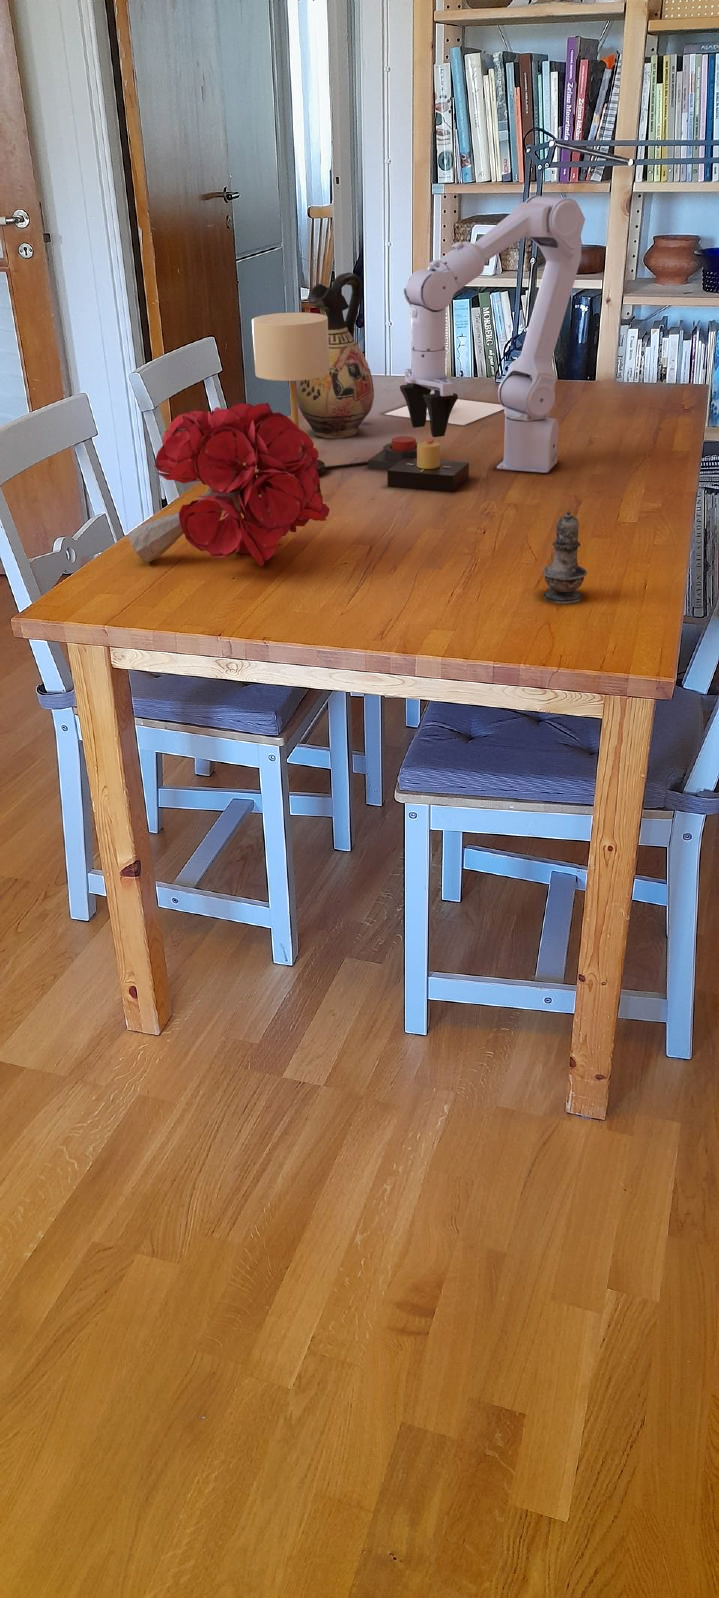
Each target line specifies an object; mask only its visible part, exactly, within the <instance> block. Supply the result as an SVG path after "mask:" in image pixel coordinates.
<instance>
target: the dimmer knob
mask: <svg viewBox="0 0 719 1598" xmlns="http://www.w3.org/2000/svg"><path fill="white" fill-rule="evenodd" d="M417 443H418V444H417V467H419V468H422V469H434V468H438V467H439V466H440V460H441V443H440V442H438V441H435V440H434V439H429V440H424V441H420V442H417Z"/></svg>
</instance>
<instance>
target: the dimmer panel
mask: <svg viewBox="0 0 719 1598" xmlns="http://www.w3.org/2000/svg"><path fill="white" fill-rule="evenodd" d="M386 471H387V488H395V489H403V490H404V489H405V490H416V491H428V492H440V493H450V494H451V493H452V494H453V493H455V492H456V491H457V490H458V489H460V488H461V486H463V485H464V484H465V483H466V482H467V481H468V480H469V477H470V476H469V475H470V474H469V473H470V462H469V461H458V460H457V461H456V460H446V459H445V460H443V459H440V466H439V467H438V468H434V469H422V468H419V467H417V458H407V457H405V458H403V459H402V460H401V461H399V462H398V463H397V464H395V465H394V466H393V467H391V468H390V469H389V470H386Z"/></svg>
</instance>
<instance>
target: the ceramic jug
mask: <svg viewBox="0 0 719 1598" xmlns="http://www.w3.org/2000/svg"><path fill="white" fill-rule="evenodd" d="M346 285H347V286H350V287H351V293H350V294H351V295H350V300H349V303H348V302H347V300H346V297H345V296H344V295H343V294H342V293H343V290H342V289H343V287H345V286H346ZM362 294H363V284H362V280H361V279H360V277H359V276H358V275H356V274H355V273H353V272H344V273H340V274H339V275H337V276H336V277H335V278H334V280H333V282H332V286H331V287H330V286H328V287H327V286H325V285H323V284H322V283H317V284H315V285H314V286H313V287H312V288H311V290H310V291H309V293H308V295H307V302H308V303H307V304H308V305H310V306H311V307H315V308H317V309H320V310H321V311H323V312H325V313H326V316H327V317H328V339H329V367H330V372H329V374H327V375H325V376H323V377H319V378H315V379H308V380H298V381H297V403H298V410H299V411H300V413H301V414H302V417H303V418H304V419H305V420H306V422H307V423H308V425H309V426H310V428H311V430H312V435H313V436H314V437H315V438H324V439H343V438H349V437H352V436H355V435H356V434H357V433H358V431H359V427H360V425H361V424H362V422H364V420H365V418H367V416H368V415H370V412H371V410H372V408H373V405H374V399H375V389H374V380H373V376H372V372H371V368H370V367H369V363H368V361H367V359H366V356H365V355H364V353H363V352H362V349H361V348H360V346H359V345H358V343H357V342H356V340H355V324H356V322H357V318H358V312H359V308H360V305H361V301H362V296H363V295H362ZM345 310H347V313H346V316H345V317H344V312H343V311H345Z"/></svg>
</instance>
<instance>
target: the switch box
mask: <svg viewBox="0 0 719 1598" xmlns="http://www.w3.org/2000/svg"><path fill="white" fill-rule="evenodd" d="M418 443H419V442H416V449H412V450H394V449H392V442H391V443H387V444H385V445H384V446H383V447H382V448H383V449H381V450H380V451H379V452H377V453H376V454H375V455H373V456H372V457H371V458H369V459H368V460H367V462H368V465H367V466H368V467H367V468H368V470H375V471H378V470H379V471H387V470H389V469H390V468H391V467H393V466H394V465H395V464H397V463H398V462H399V461H401V460H402V459H403V458H405V457H407V458H417V444H418Z"/></svg>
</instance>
